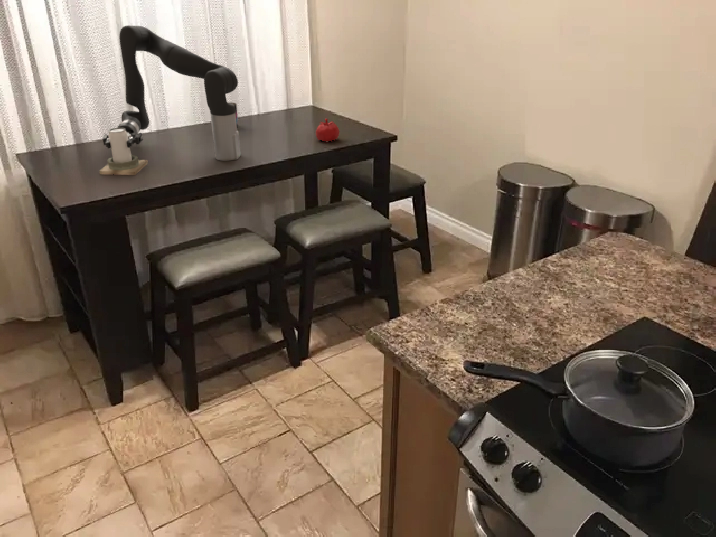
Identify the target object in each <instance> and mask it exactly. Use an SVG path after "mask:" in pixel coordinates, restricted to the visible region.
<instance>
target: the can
mask: <svg viewBox="0 0 716 537" xmlns="http://www.w3.org/2000/svg"><path fill="white" fill-rule="evenodd" d="M108 135H109V141H110V146H111V148H110V150H111V155H112V156H111V157H113V161H114V162H115V163H123V162H129V161H132V156H131V155H132V152H131V147H130V148H128V147H127V141H128V140H129V139H128V134H127V132H126V131H125V128H117V127H114V128H113V127H112V128H110V129H109V130H108Z"/></svg>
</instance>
